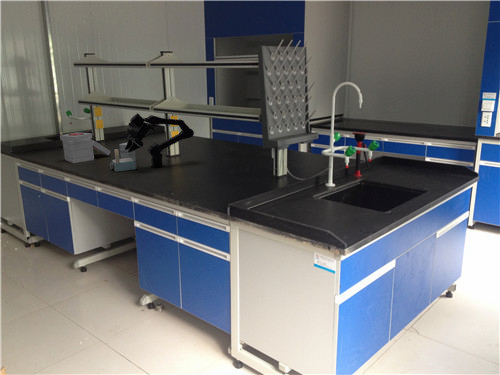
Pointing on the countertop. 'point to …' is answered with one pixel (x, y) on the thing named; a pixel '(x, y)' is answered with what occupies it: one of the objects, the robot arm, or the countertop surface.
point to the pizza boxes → (80, 147)
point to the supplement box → (126, 152)
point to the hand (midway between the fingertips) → (126, 150)
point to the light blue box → (112, 164)
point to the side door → (123, 163)
